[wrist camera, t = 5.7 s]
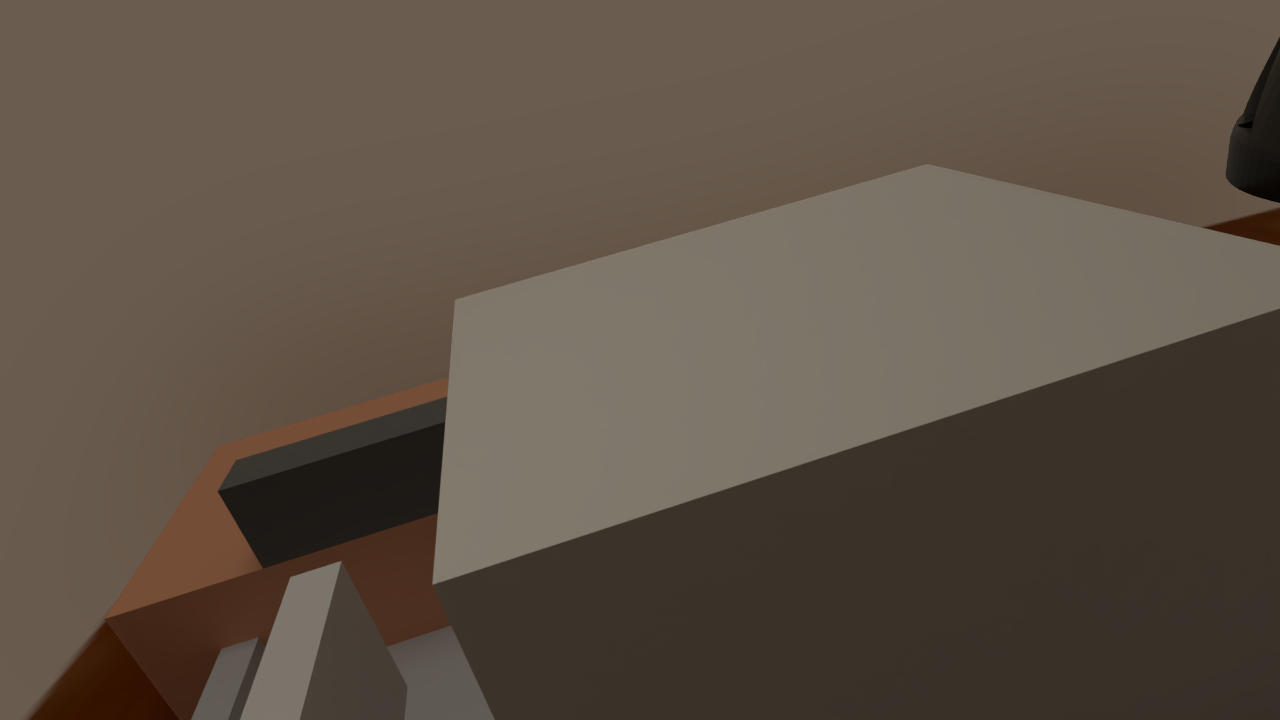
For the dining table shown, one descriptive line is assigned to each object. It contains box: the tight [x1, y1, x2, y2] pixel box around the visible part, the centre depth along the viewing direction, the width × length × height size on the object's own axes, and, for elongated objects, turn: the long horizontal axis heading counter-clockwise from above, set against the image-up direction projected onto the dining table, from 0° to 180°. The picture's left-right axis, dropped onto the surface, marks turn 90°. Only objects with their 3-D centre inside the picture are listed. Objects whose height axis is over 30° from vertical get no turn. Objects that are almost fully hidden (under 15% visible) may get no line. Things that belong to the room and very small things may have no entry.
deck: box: [105, 377, 495, 720], centre depth 20 cm, size 22×16×7 cm
